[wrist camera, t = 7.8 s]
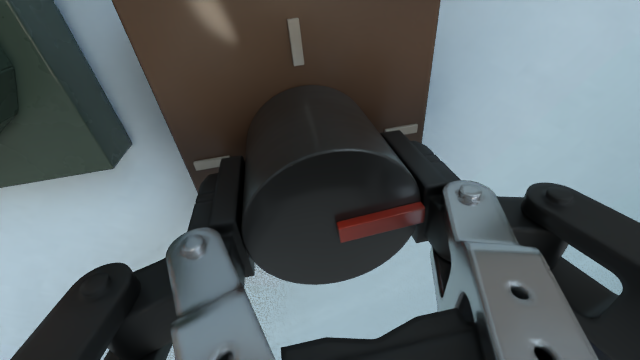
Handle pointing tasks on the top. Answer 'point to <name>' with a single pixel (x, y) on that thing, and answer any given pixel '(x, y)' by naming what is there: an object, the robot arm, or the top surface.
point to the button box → (50, 100)
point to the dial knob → (323, 189)
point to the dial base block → (278, 63)
